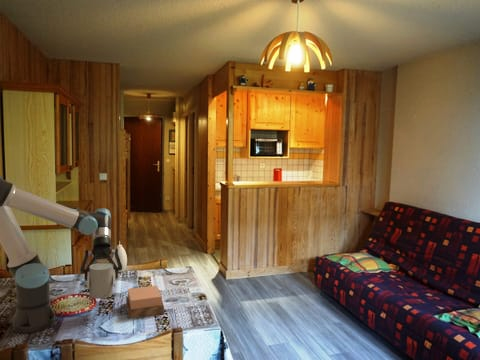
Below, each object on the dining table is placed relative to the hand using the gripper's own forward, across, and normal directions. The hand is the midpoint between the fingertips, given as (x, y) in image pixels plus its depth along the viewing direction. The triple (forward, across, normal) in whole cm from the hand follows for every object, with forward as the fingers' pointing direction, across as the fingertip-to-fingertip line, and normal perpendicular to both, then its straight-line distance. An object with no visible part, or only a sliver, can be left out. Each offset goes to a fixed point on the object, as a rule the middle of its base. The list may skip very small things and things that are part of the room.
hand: (101, 286), depth 154 cm
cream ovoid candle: (-29, -9, -48) cm, 57 cm away
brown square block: (+5, -18, -9) cm, 21 cm away
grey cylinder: (+1, 0, -6) cm, 6 cm away
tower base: (+7, -18, -12) cm, 23 cm away
